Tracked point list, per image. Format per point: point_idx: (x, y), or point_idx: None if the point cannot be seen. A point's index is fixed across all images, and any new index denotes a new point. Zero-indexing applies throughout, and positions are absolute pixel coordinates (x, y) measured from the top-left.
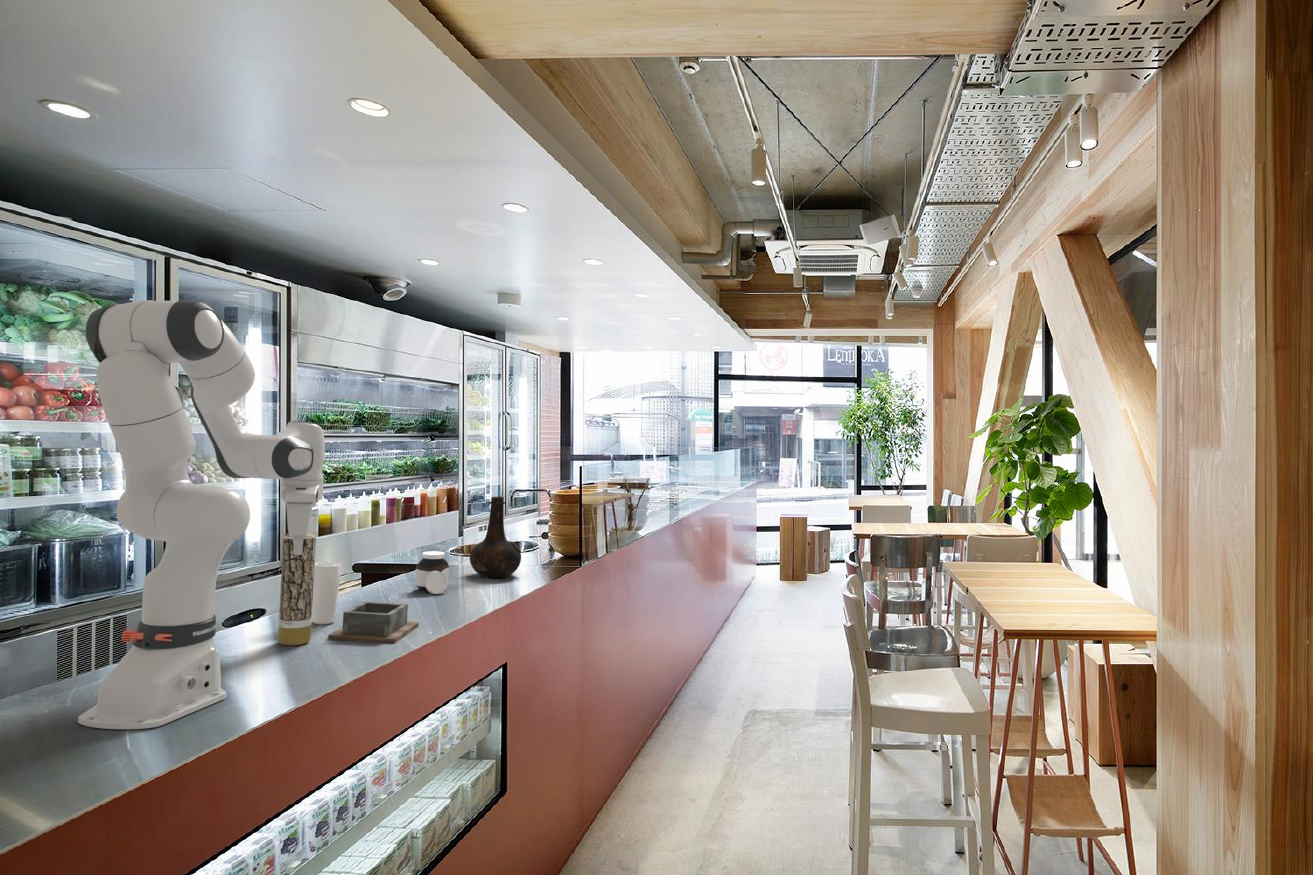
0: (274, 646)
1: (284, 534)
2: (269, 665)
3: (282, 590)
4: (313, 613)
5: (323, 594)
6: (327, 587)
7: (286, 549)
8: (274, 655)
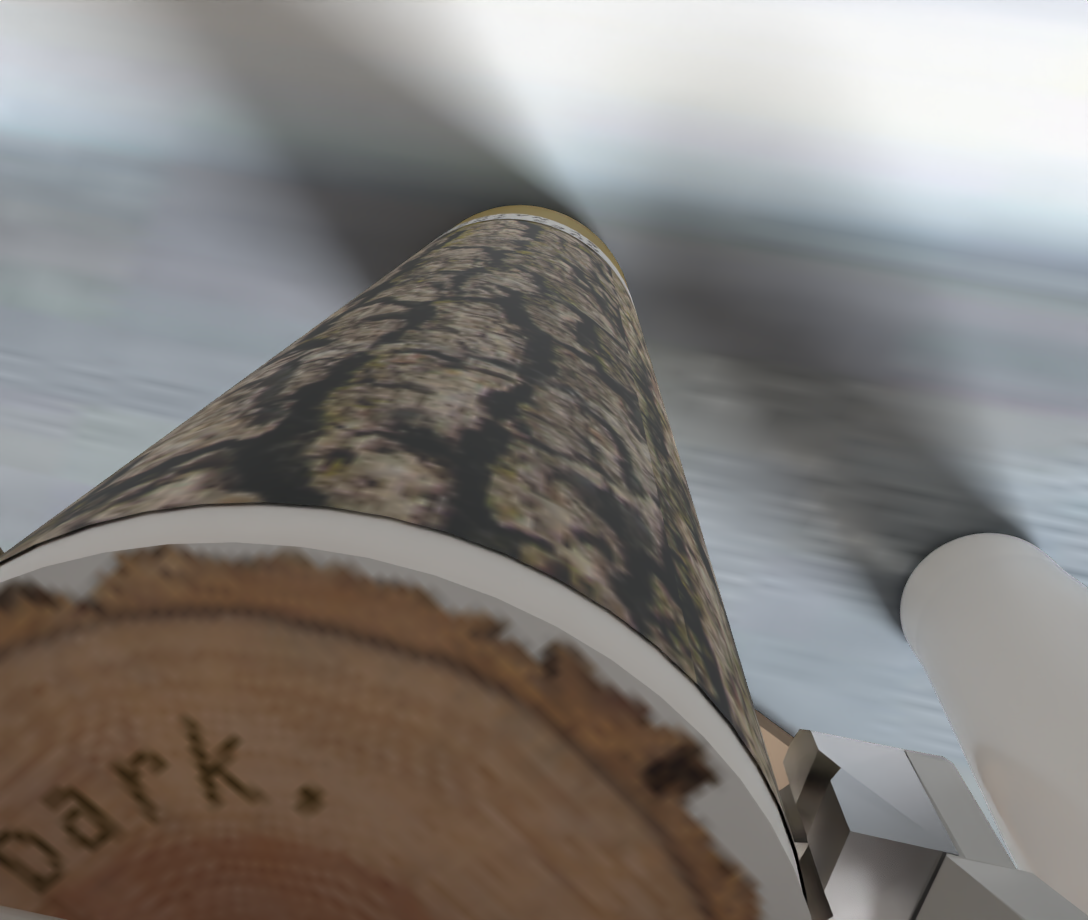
0: (476, 169)
1: (495, 611)
2: (7, 58)
3: (420, 261)
4: (1003, 561)
5: (981, 700)
6: (995, 769)
7: (170, 438)
8: (241, 130)
